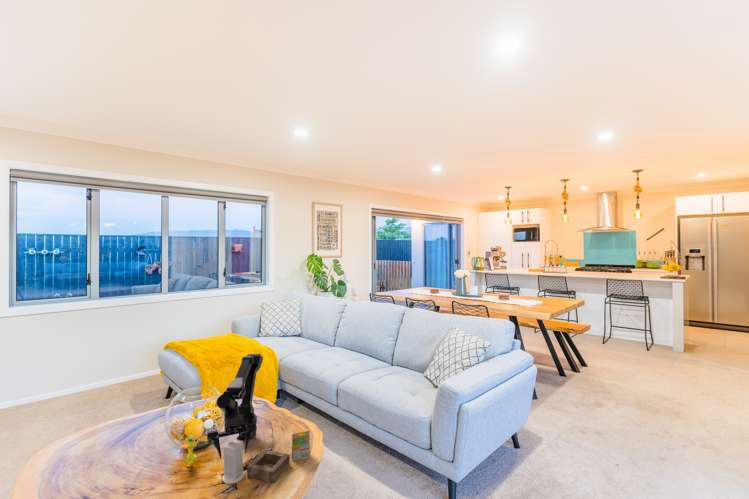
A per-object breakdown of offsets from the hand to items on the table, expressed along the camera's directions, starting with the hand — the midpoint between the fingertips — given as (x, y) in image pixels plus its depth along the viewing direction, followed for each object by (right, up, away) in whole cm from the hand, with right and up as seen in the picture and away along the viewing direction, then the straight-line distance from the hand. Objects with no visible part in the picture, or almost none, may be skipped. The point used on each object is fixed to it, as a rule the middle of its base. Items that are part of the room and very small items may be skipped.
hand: (233, 455), depth 143 cm
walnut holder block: (+13, -8, +3) cm, 16 cm away
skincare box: (0, -8, 0) cm, 8 cm away
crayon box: (+24, -8, +12) cm, 28 cm away
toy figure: (-21, -9, +7) cm, 24 cm away
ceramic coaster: (0, -8, 0) cm, 9 cm away
